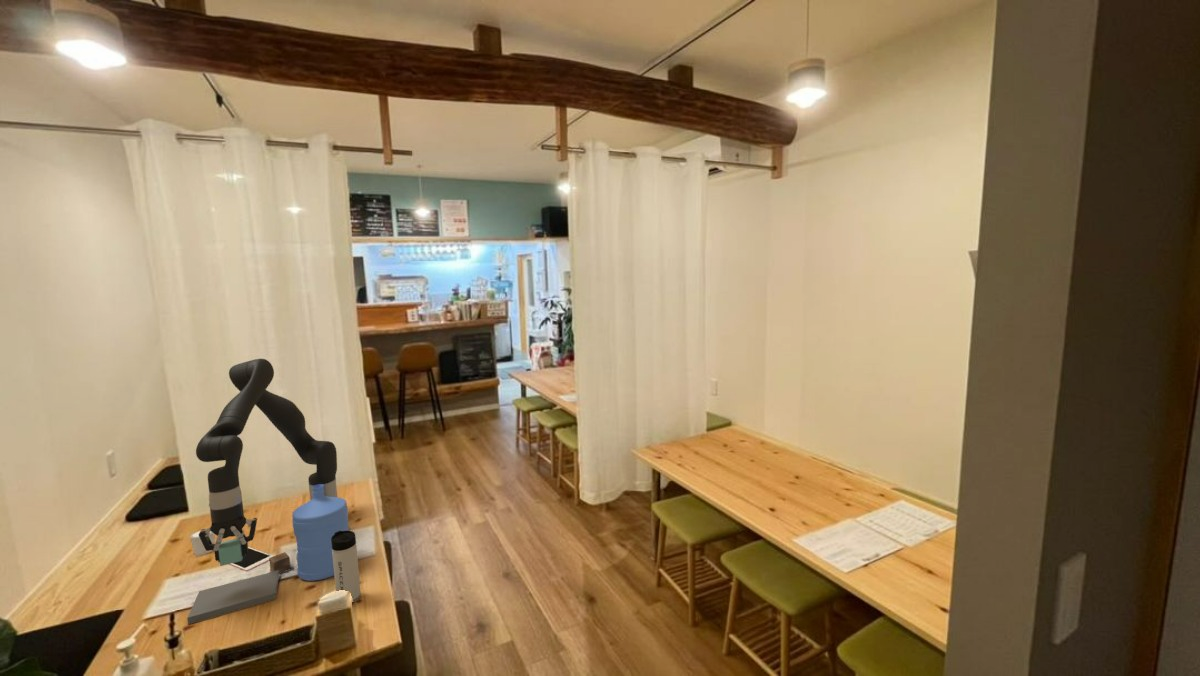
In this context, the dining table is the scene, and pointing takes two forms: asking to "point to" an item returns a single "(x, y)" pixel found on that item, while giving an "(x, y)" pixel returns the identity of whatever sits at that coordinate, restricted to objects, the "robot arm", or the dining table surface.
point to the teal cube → (230, 552)
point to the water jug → (318, 533)
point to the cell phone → (252, 560)
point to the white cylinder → (200, 543)
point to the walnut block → (280, 563)
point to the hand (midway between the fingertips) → (232, 557)
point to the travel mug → (346, 563)
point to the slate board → (234, 596)
